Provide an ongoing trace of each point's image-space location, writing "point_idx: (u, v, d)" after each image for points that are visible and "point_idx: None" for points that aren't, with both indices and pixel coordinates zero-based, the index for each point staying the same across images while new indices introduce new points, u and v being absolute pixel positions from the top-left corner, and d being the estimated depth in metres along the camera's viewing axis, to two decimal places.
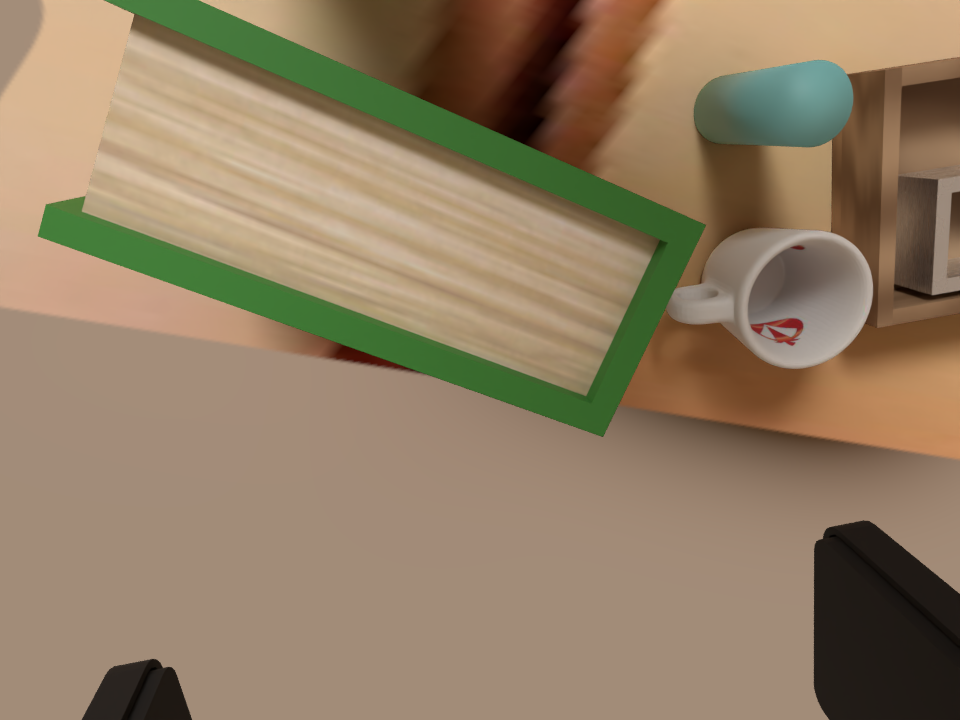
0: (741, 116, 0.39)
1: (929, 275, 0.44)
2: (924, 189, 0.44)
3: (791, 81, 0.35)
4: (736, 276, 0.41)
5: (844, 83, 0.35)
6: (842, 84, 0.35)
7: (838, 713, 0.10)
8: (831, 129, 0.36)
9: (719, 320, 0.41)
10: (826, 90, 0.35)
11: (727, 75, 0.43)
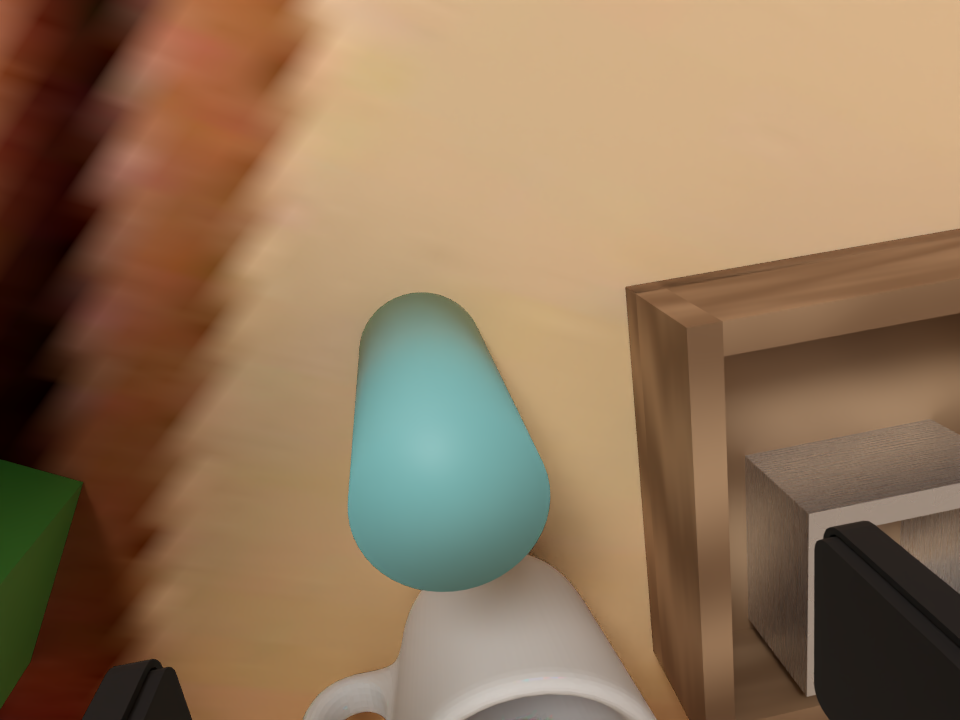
0: None
1: (802, 661, 0.24)
2: (788, 514, 0.23)
3: (381, 460, 0.14)
4: None
5: (522, 457, 0.14)
6: (517, 459, 0.14)
7: (838, 713, 0.10)
8: (503, 552, 0.15)
9: None
10: (476, 474, 0.14)
11: (403, 304, 0.22)
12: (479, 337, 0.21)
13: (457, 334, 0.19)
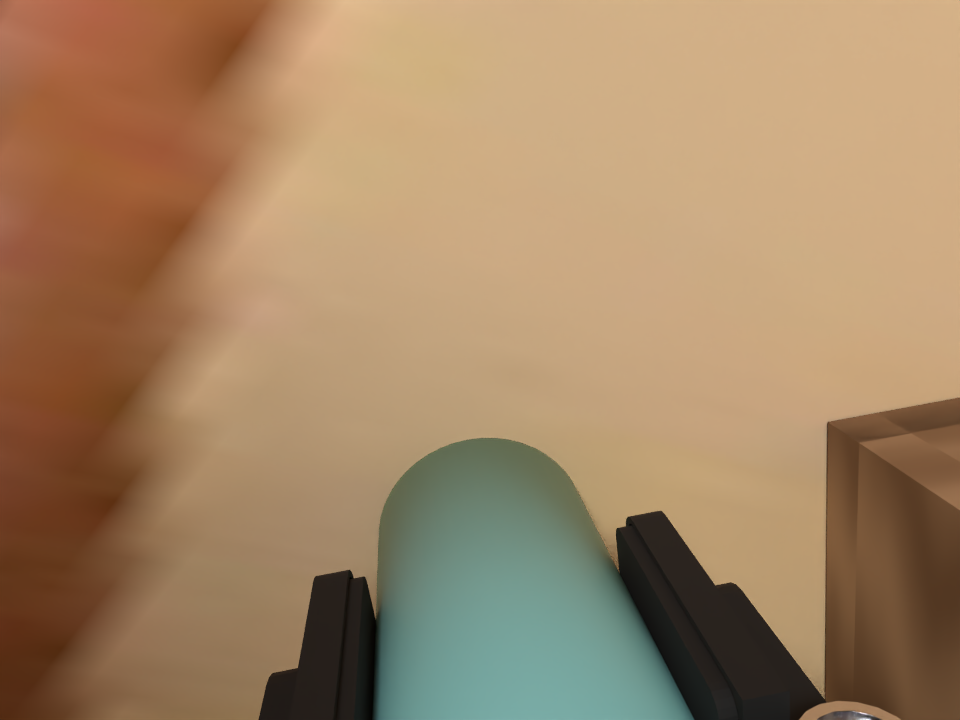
0: None
1: None
2: None
3: None
4: None
5: None
6: None
7: None
8: None
9: None
10: None
11: (457, 471, 0.12)
12: (603, 550, 0.11)
13: (580, 582, 0.09)
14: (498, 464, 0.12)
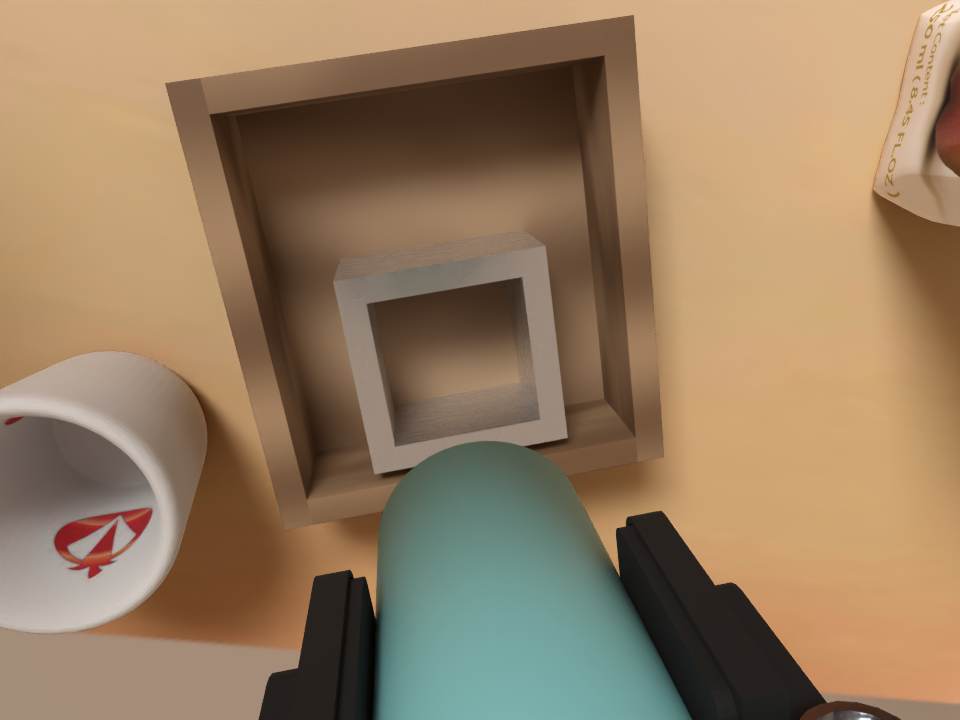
0: None
1: None
2: None
3: None
4: None
5: None
6: None
7: None
8: None
9: None
10: None
11: (457, 475, 0.12)
12: (604, 553, 0.11)
13: (580, 587, 0.09)
14: (498, 467, 0.12)
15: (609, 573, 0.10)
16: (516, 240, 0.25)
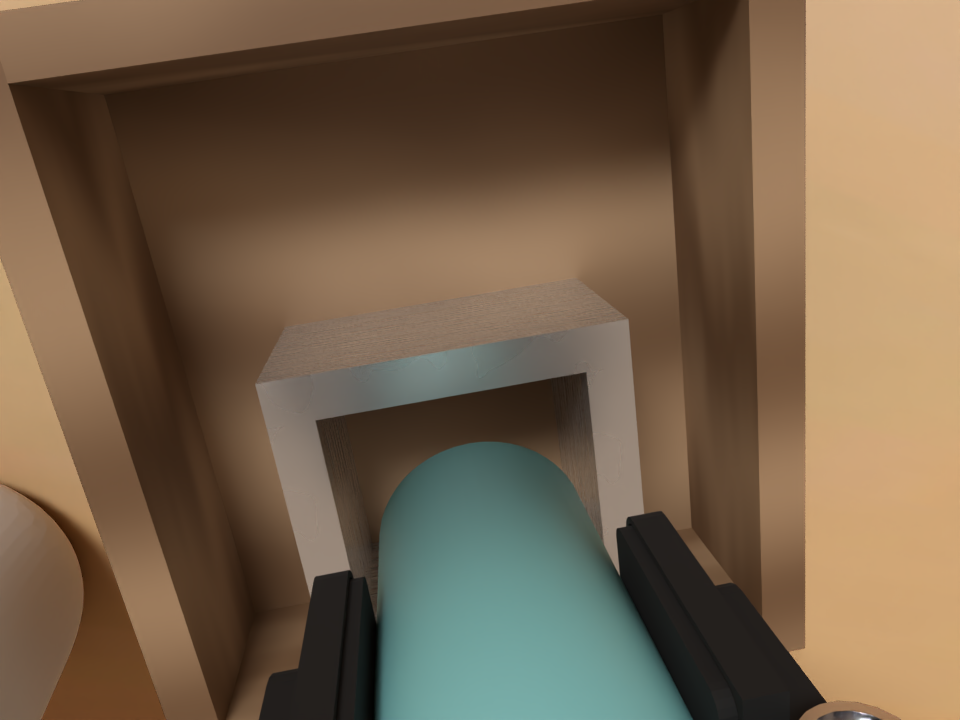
0: None
1: None
2: None
3: None
4: None
5: None
6: None
7: None
8: None
9: None
10: None
11: (458, 475, 0.12)
12: (605, 554, 0.11)
13: (581, 588, 0.09)
14: (499, 468, 0.12)
15: (610, 574, 0.10)
16: (571, 302, 0.15)
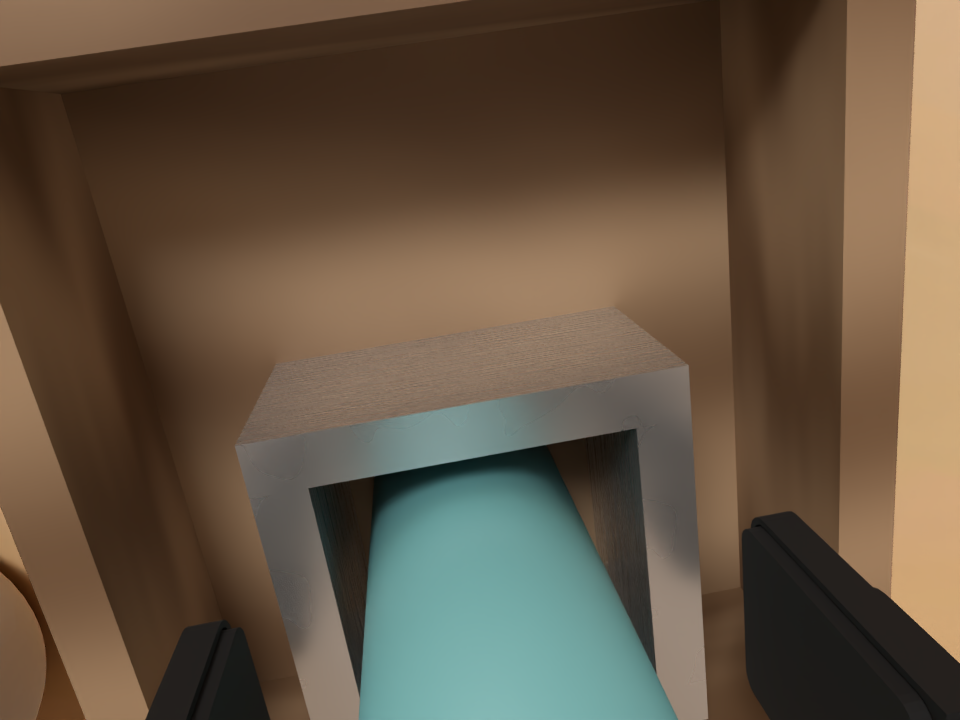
0: None
1: None
2: None
3: None
4: None
5: None
6: None
7: (765, 695, 0.11)
8: None
9: None
10: None
11: None
12: (564, 492, 0.13)
13: (538, 509, 0.11)
14: None
15: (566, 504, 0.12)
16: (613, 339, 0.13)
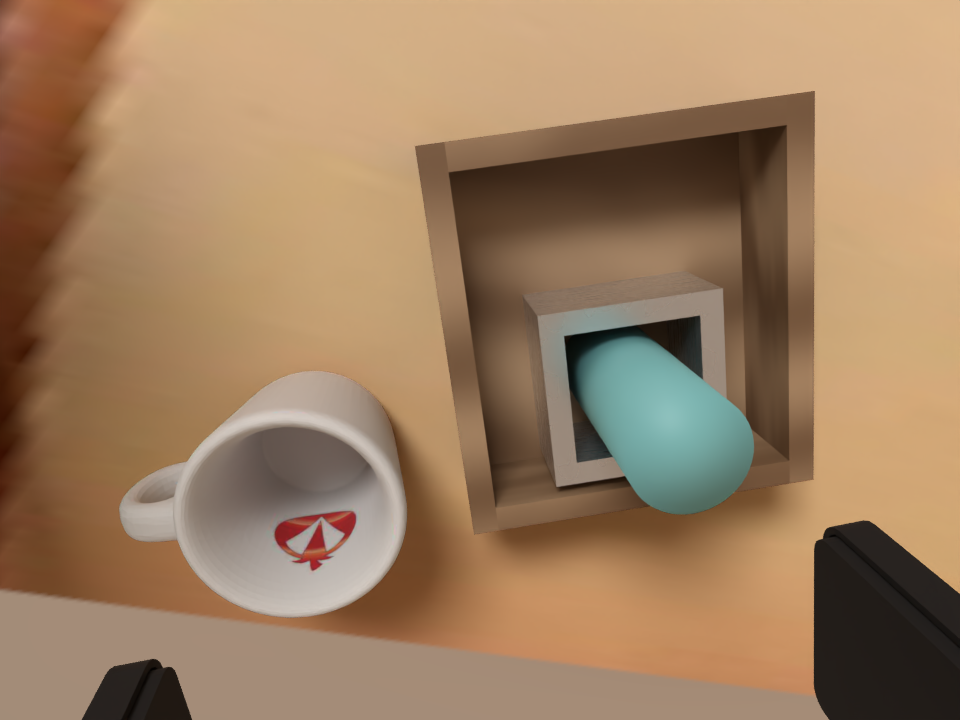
0: (598, 427, 0.25)
1: (552, 456, 0.29)
2: (534, 326, 0.28)
3: (650, 423, 0.22)
4: None
5: (738, 424, 0.22)
6: (735, 426, 0.22)
7: (838, 713, 0.10)
8: (720, 489, 0.22)
9: (167, 539, 0.26)
10: (708, 435, 0.22)
11: None
12: None
13: (659, 347, 0.27)
14: None
15: None
16: (688, 281, 0.29)
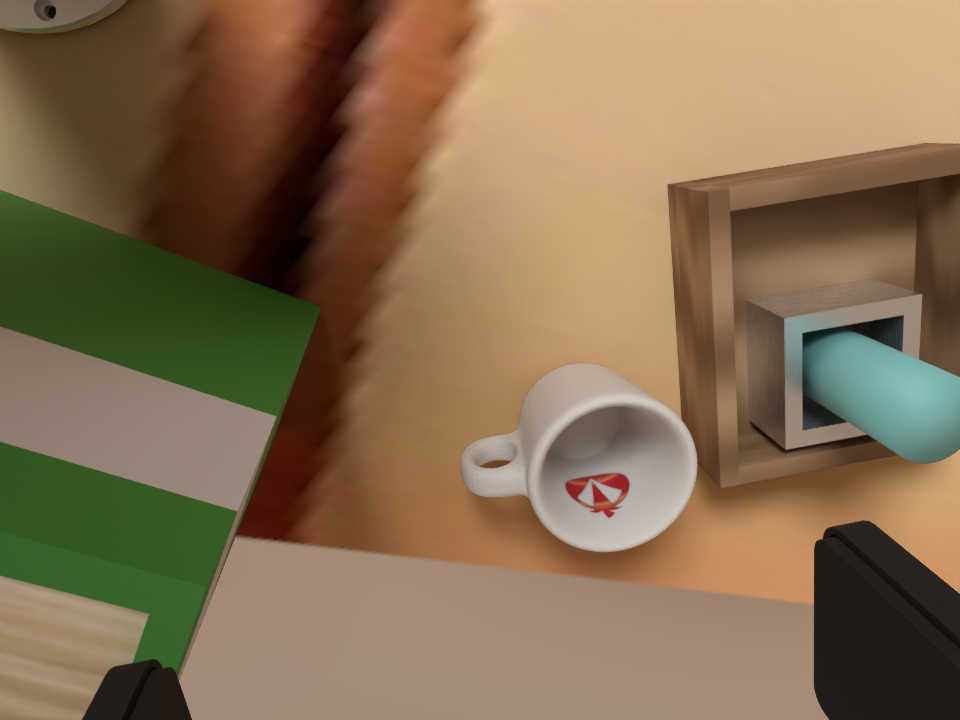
0: (839, 402, 0.34)
1: (782, 426, 0.37)
2: (772, 325, 0.36)
3: (910, 397, 0.30)
4: (530, 442, 0.33)
5: None
6: None
7: (838, 713, 0.10)
8: (953, 444, 0.31)
9: (511, 494, 0.34)
10: (949, 404, 0.30)
11: None
12: None
13: (874, 340, 0.35)
14: None
15: None
16: (885, 288, 0.37)
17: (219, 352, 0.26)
